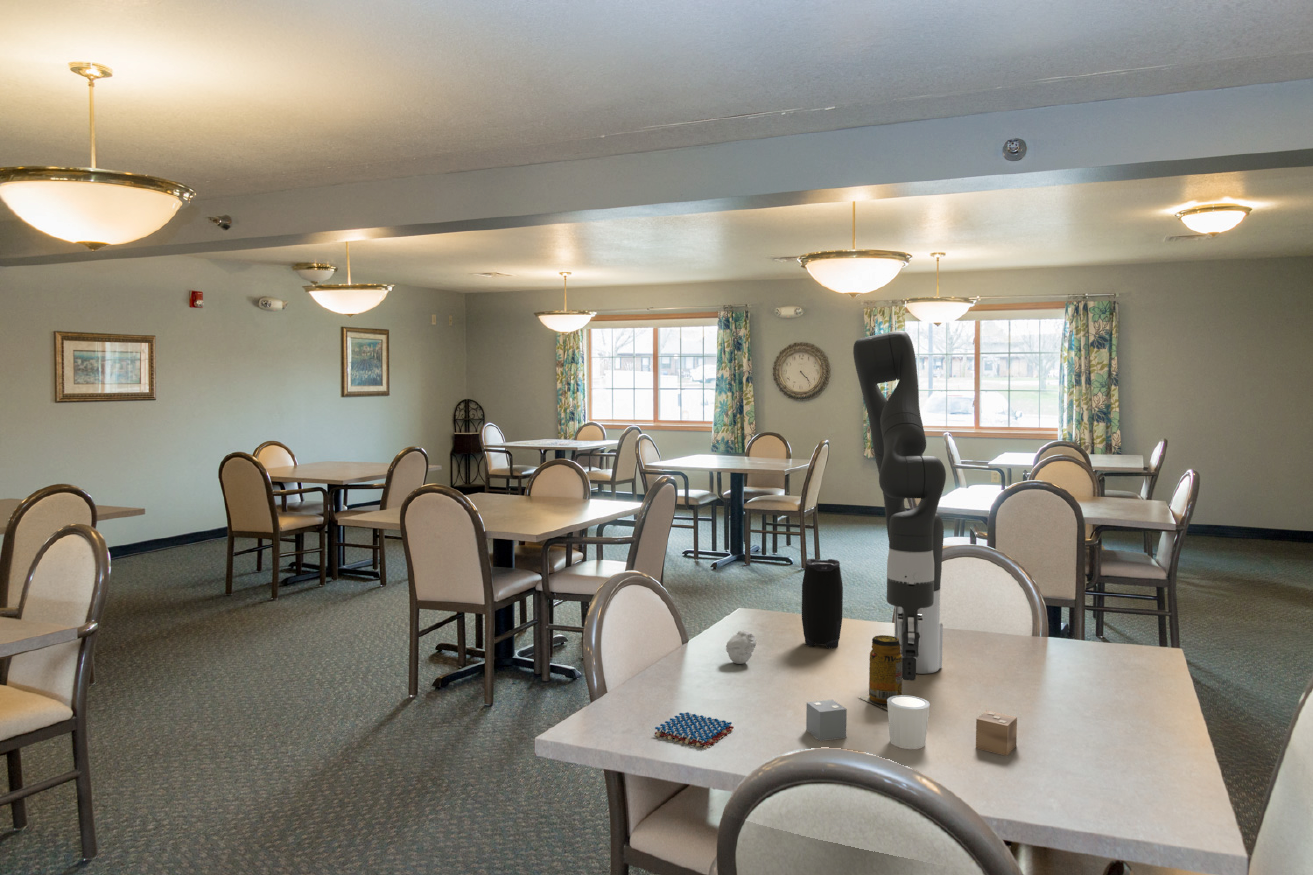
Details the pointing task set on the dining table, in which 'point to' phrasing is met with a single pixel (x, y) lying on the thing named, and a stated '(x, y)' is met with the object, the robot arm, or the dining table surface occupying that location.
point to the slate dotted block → (826, 720)
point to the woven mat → (694, 729)
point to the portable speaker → (822, 602)
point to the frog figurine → (741, 647)
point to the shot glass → (908, 721)
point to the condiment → (884, 670)
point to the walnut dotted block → (996, 732)
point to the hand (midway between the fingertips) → (908, 678)
